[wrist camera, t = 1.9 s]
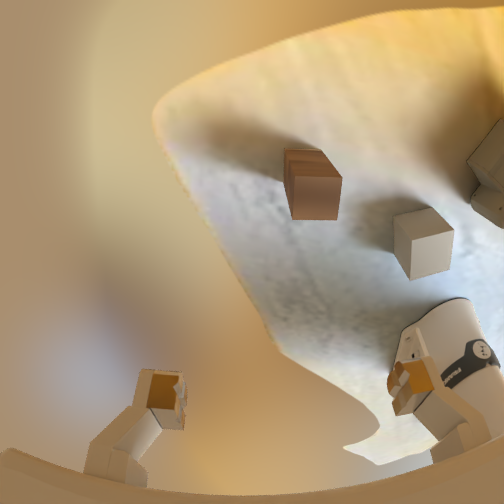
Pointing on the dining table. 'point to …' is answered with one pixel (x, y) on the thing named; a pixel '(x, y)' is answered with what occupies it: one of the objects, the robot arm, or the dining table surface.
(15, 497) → the robot arm
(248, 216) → the dining table surface
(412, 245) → the grey cube
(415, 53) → the dining table surface
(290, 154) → the walnut post
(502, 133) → the digital clock
